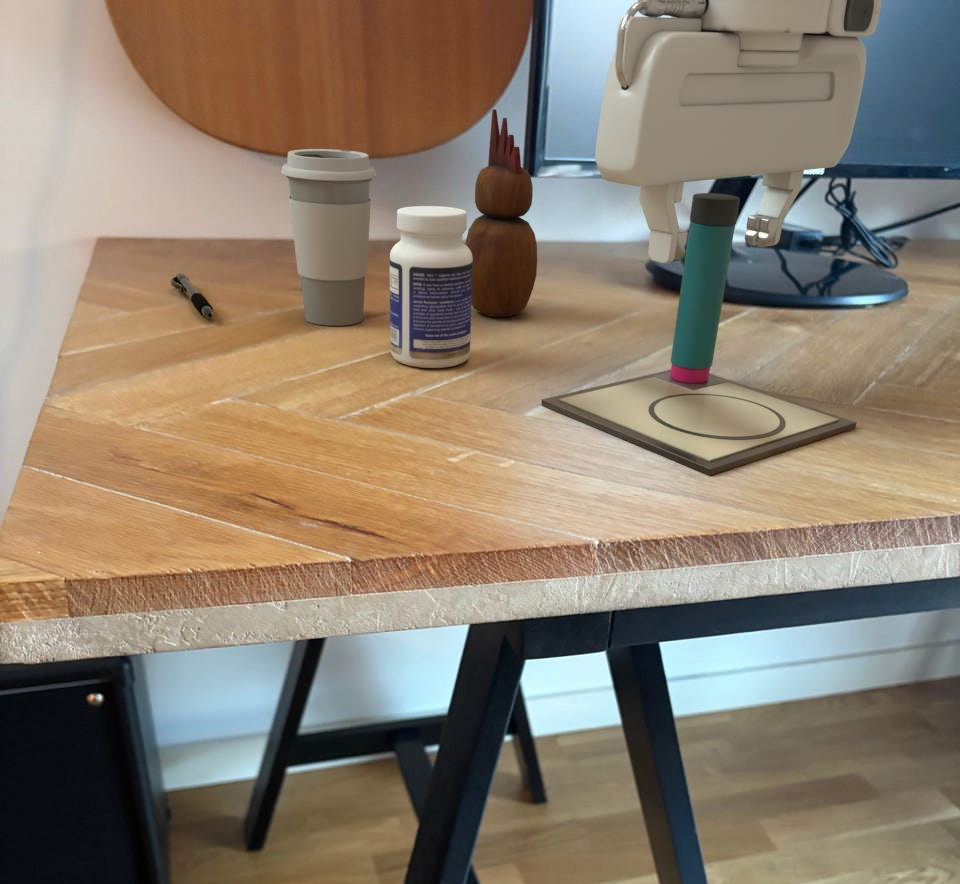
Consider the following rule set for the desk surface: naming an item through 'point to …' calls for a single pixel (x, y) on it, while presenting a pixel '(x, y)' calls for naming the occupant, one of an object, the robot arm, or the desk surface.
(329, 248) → the cup
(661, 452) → the board
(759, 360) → the desk surface
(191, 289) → the pen
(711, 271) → the dot marker
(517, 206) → the wooden figurine
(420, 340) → the pill bottle
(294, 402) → the desk surface
